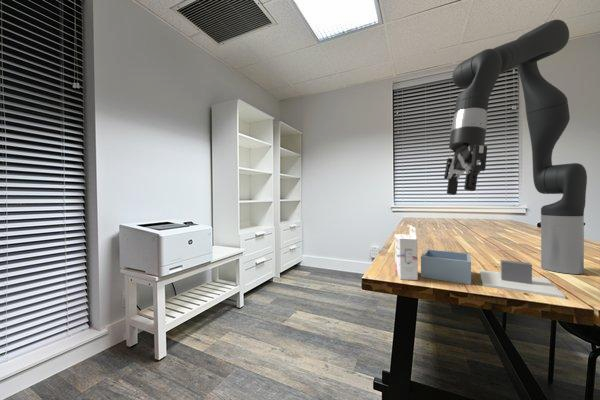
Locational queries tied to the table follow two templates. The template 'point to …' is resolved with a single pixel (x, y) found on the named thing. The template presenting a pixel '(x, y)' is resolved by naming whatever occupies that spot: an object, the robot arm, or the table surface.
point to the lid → (519, 280)
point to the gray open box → (446, 266)
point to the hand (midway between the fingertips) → (459, 192)
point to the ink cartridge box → (406, 255)
